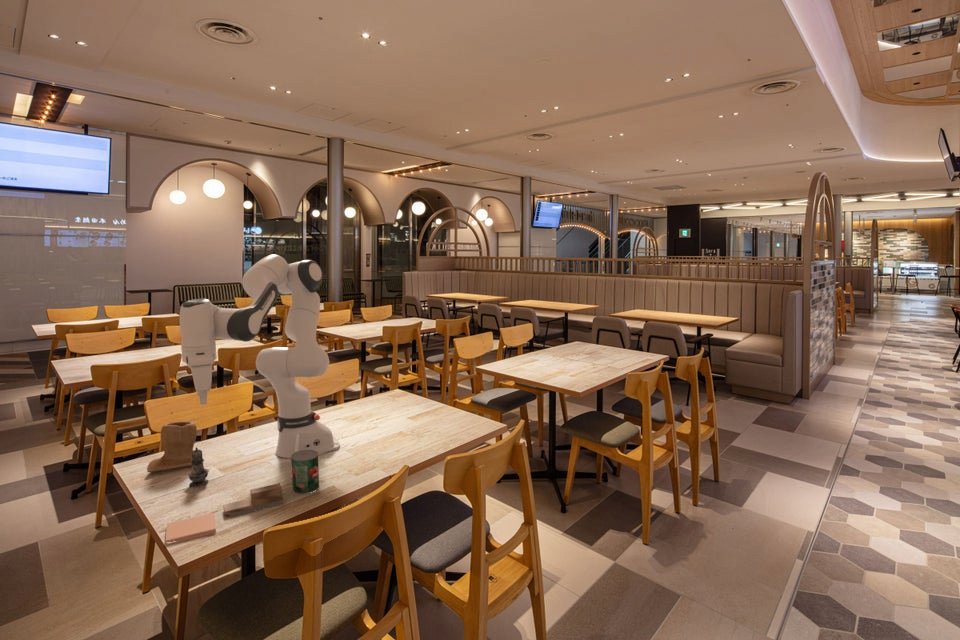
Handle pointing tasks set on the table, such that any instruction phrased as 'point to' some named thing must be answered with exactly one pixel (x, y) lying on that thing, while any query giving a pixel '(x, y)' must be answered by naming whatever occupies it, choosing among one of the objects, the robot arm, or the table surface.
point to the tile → (190, 528)
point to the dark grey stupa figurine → (198, 470)
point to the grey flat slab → (257, 508)
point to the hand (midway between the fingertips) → (202, 399)
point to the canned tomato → (305, 471)
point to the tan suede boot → (175, 446)
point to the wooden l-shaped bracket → (256, 499)
